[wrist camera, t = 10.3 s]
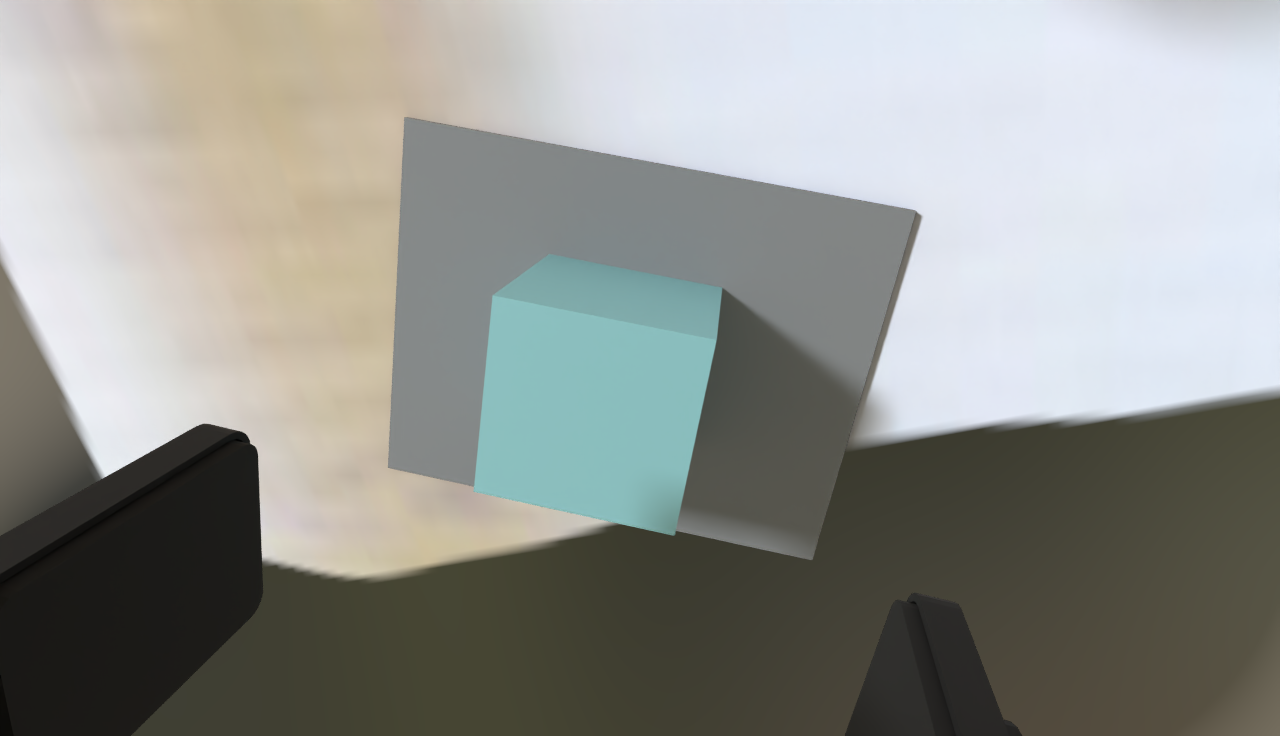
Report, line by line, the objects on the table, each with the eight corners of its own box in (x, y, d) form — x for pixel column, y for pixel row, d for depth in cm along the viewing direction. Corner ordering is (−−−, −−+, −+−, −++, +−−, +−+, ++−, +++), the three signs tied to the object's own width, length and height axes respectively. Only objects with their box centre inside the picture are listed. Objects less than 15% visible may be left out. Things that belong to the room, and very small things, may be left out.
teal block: (722, 287, 20) (716, 340, 15) (688, 445, 22) (674, 535, 17) (549, 254, 20) (492, 295, 16) (529, 412, 22) (473, 491, 18)
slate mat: (914, 210, 19) (916, 211, 19) (811, 556, 23) (812, 560, 23) (407, 117, 20) (404, 117, 20) (390, 465, 24) (388, 467, 24)
